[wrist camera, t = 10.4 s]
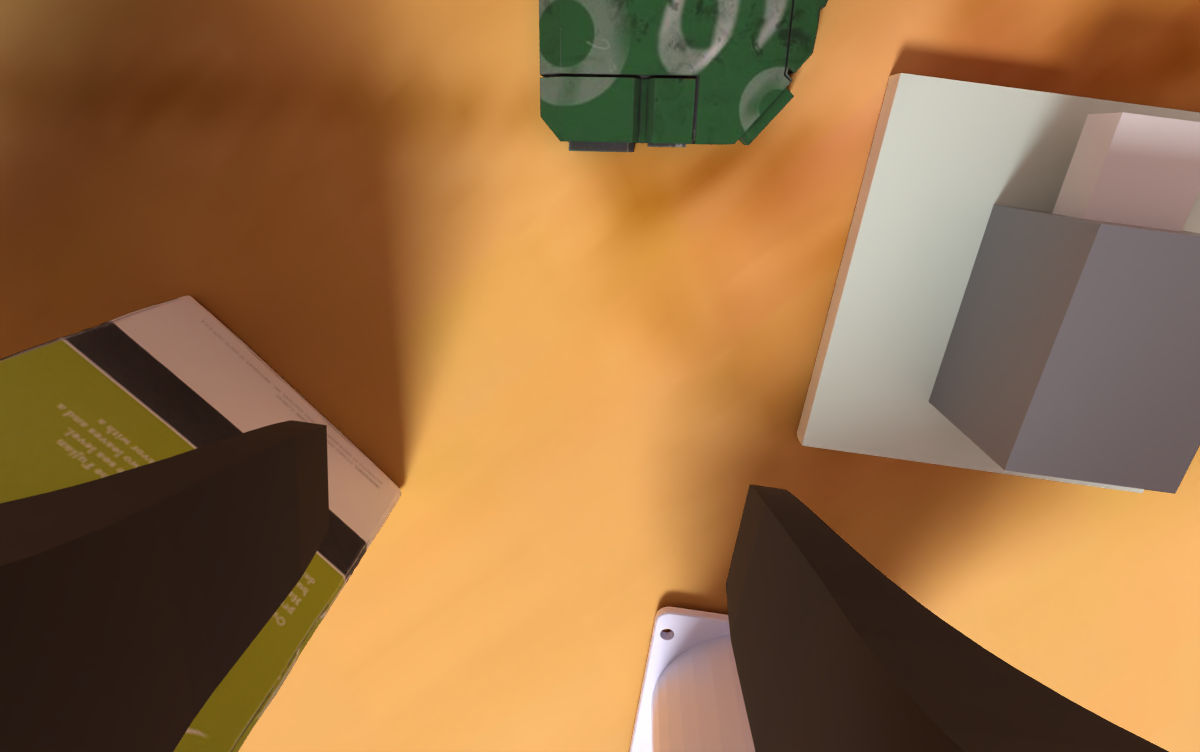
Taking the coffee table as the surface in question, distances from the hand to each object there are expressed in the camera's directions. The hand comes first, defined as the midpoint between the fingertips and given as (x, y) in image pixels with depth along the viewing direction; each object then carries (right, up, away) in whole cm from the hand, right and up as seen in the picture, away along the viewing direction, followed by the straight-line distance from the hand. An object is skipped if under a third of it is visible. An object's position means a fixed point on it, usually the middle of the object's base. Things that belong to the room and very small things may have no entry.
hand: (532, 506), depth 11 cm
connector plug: (+14, +5, +7) cm, 17 cm away
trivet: (+14, +5, +9) cm, 17 cm away
